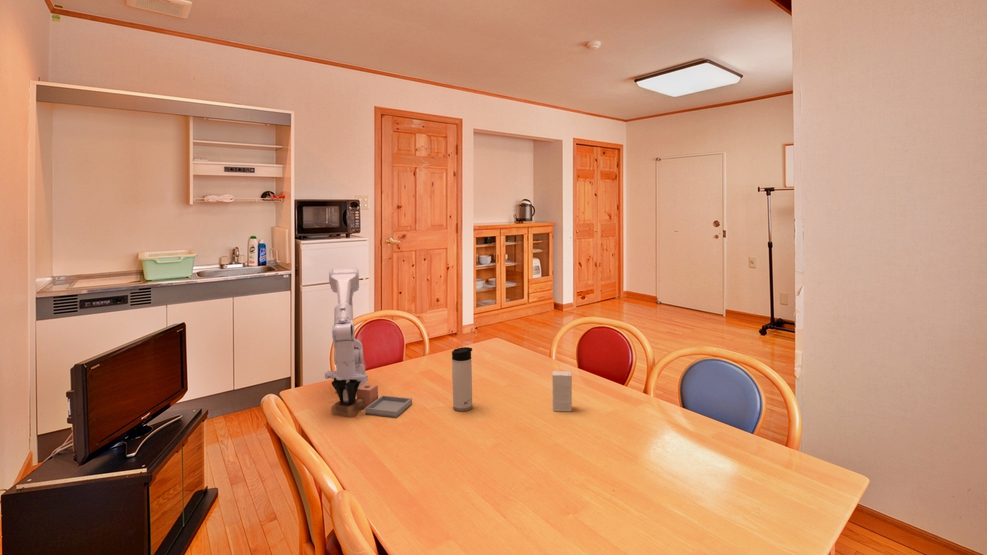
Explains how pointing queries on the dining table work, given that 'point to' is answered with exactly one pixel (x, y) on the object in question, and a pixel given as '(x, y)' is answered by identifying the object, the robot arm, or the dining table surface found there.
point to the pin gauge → (345, 397)
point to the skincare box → (562, 390)
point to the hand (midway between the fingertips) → (347, 401)
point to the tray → (388, 406)
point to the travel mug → (462, 379)
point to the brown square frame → (347, 408)
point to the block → (367, 393)
